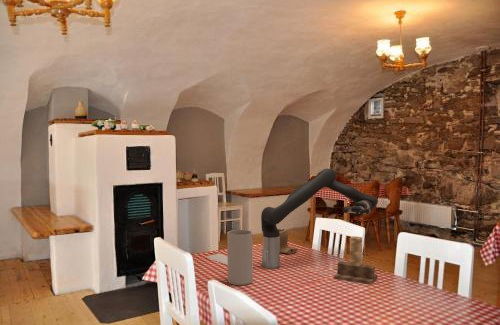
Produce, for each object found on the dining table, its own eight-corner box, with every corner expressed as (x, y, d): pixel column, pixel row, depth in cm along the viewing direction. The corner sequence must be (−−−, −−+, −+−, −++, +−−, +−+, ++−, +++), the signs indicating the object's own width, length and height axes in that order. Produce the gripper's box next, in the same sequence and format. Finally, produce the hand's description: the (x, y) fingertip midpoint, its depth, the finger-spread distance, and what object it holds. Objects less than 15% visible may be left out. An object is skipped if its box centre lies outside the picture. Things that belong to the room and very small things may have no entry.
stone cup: (267, 252, 284) (267, 228, 283) (280, 248, 292) (280, 226, 291) (286, 256, 273) (285, 232, 272) (298, 253, 281) (298, 229, 281)
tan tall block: (349, 265, 228) (349, 238, 227) (352, 262, 232) (352, 236, 232) (359, 266, 226) (359, 239, 225) (361, 264, 230) (362, 237, 229)
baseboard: (236, 270, 247) (252, 266, 255) (236, 265, 247) (252, 261, 255) (203, 259, 270) (219, 256, 278) (203, 254, 270) (219, 251, 278)
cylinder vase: (256, 279, 228) (256, 231, 227) (246, 287, 217) (245, 235, 216) (234, 276, 233) (234, 229, 232) (223, 283, 222) (222, 233, 221)
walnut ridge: (333, 278, 229) (333, 265, 229) (341, 272, 239) (341, 259, 239) (371, 284, 219) (371, 270, 219) (377, 277, 230) (377, 264, 229)
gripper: (349, 200, 258) (339, 204, 244) (373, 202, 251) (365, 205, 237) (349, 213, 259) (339, 217, 245) (373, 215, 252) (365, 219, 238)
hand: (352, 211), depth 241 cm, fingers open, 8 cm apart
